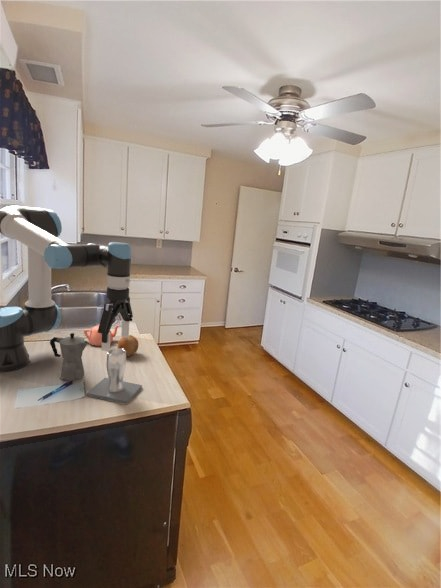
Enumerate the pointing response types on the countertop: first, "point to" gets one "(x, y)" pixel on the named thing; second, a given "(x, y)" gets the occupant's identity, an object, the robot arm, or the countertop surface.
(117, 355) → the beer glass
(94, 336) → the teapot
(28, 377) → the countertop surface
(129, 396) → the slate board
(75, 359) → the coffeepot
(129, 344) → the onion
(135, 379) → the countertop surface
